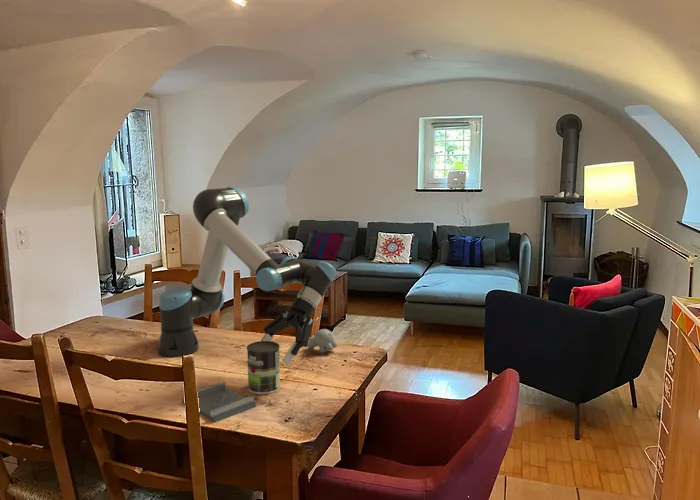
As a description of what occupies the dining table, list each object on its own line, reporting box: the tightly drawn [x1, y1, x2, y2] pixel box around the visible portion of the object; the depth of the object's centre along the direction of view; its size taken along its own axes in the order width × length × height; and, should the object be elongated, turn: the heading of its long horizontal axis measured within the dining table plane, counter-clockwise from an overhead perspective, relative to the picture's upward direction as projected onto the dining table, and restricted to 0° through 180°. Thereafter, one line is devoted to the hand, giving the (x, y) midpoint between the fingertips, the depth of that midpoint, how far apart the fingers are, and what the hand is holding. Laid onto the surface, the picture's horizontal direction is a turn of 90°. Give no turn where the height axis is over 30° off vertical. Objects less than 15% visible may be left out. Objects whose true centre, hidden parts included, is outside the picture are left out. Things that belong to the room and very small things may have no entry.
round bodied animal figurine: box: [306, 328, 338, 354], centre depth 212 cm, size 7×12×8 cm, turn 61°
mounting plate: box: [181, 381, 257, 423], centre depth 167 cm, size 18×14×3 cm
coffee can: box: [246, 340, 281, 395], centre depth 178 cm, size 10×10×14 cm
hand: (271, 357), depth 178 cm, fingers open, 13 cm apart
